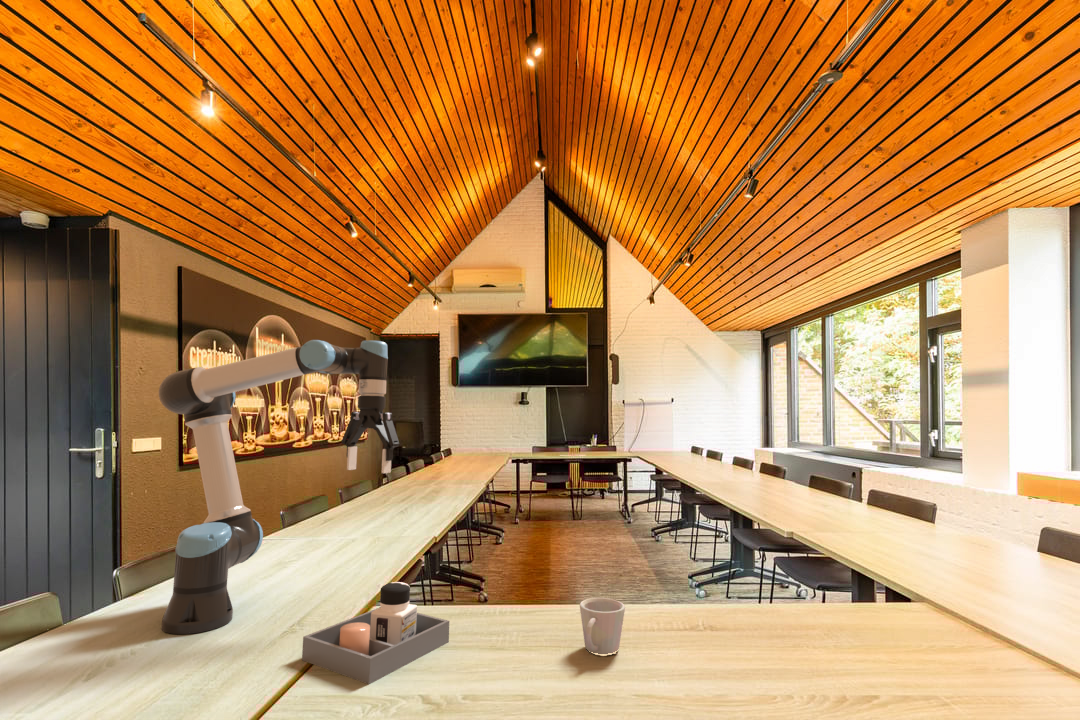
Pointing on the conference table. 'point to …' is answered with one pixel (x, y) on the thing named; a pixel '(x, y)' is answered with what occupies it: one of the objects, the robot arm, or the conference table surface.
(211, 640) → the conference table surface
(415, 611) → the container
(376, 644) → the tray
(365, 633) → the peach cylinder
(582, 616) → the mug
